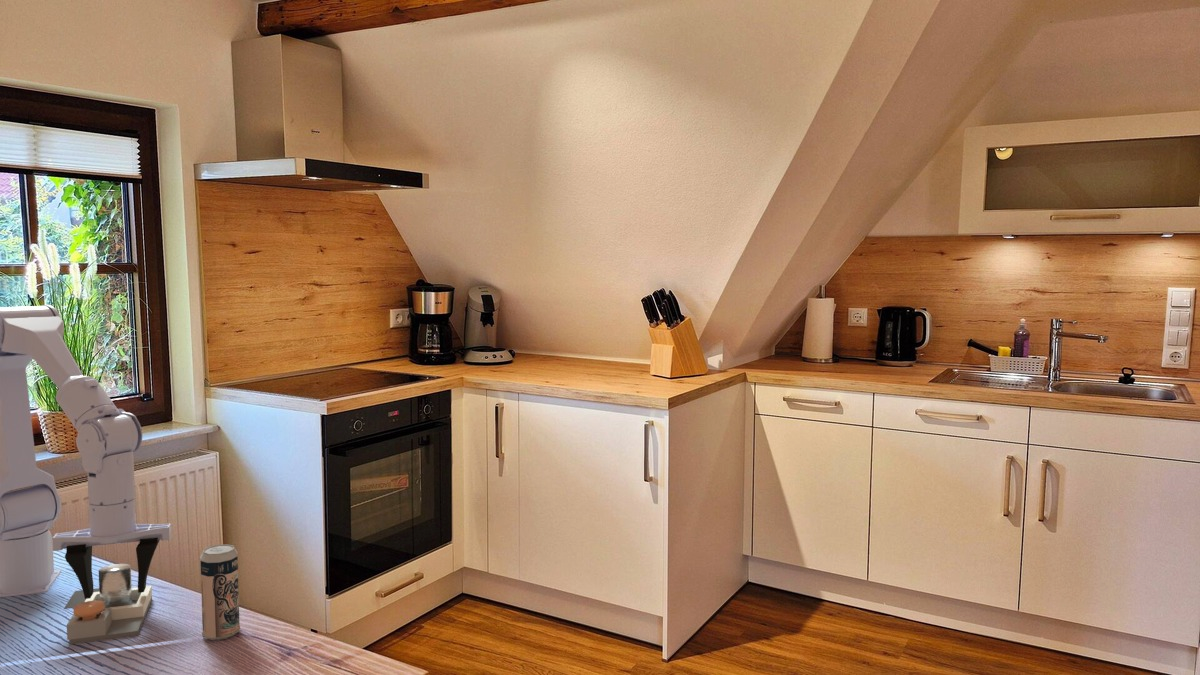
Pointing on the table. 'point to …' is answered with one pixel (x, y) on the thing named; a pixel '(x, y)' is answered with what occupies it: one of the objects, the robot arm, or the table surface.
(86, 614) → the button
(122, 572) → the billet
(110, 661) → the table surface
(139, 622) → the station
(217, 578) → the beer can
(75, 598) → the mat
